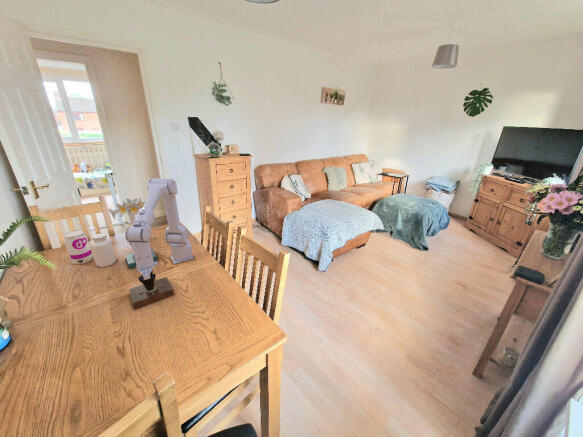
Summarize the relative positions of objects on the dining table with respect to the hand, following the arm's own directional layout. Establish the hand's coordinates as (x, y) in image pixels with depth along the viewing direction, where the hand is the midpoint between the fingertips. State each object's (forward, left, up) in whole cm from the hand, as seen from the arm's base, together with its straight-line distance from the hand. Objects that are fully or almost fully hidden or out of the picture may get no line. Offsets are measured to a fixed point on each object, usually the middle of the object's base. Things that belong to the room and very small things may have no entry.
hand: (150, 284), depth 96 cm
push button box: (-1, -31, -5) cm, 31 cm away
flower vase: (-2, -55, -6) cm, 55 cm away
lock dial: (0, 0, -2) cm, 2 cm away
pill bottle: (+13, -38, -6) cm, 41 cm away
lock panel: (0, 0, -5) cm, 5 cm away
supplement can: (+22, -47, -6) cm, 52 cm away
